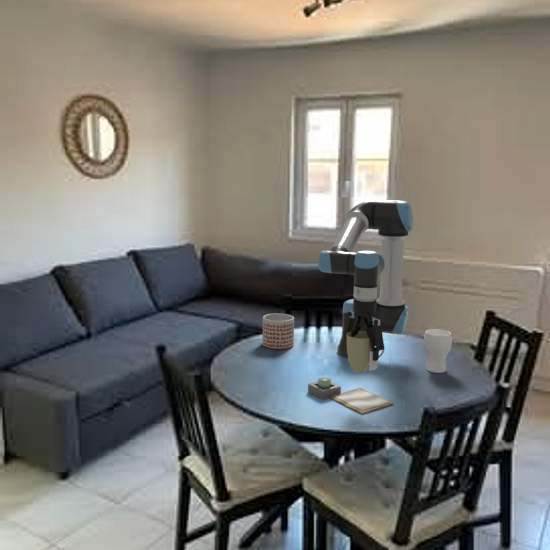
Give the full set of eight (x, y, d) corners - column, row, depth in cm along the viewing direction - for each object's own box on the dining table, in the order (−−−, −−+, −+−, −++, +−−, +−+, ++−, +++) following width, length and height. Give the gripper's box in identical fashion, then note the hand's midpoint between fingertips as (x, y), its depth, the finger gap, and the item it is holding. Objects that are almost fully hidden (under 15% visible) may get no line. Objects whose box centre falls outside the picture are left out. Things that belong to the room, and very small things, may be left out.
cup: (451, 375, 215) (454, 337, 213) (422, 373, 217) (424, 335, 215) (448, 366, 226) (451, 329, 223) (421, 364, 228) (423, 327, 225)
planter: (293, 350, 244) (294, 321, 241) (262, 349, 244) (262, 320, 241) (293, 340, 257) (293, 313, 255) (263, 340, 257) (263, 313, 255)
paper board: (329, 397, 193) (329, 395, 193) (359, 389, 201) (360, 387, 200) (361, 414, 180) (361, 412, 180) (393, 404, 188) (393, 402, 188)
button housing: (307, 392, 198) (308, 383, 197) (325, 387, 202) (326, 379, 202) (322, 399, 191) (322, 391, 191) (340, 394, 196) (340, 386, 195)
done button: (315, 386, 197) (315, 378, 196) (325, 384, 199) (325, 376, 199) (323, 390, 193) (323, 382, 193) (333, 388, 196) (333, 380, 195)
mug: (357, 377, 181) (358, 340, 179) (339, 367, 190) (341, 332, 188) (384, 371, 186) (386, 336, 184) (366, 362, 195) (368, 328, 193)
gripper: (334, 294, 191) (332, 357, 195) (381, 307, 173) (377, 377, 177) (350, 291, 195) (348, 354, 199) (398, 304, 177) (394, 372, 181)
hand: (362, 365), depth 188 cm, fingers closed on mug, 9 cm apart
